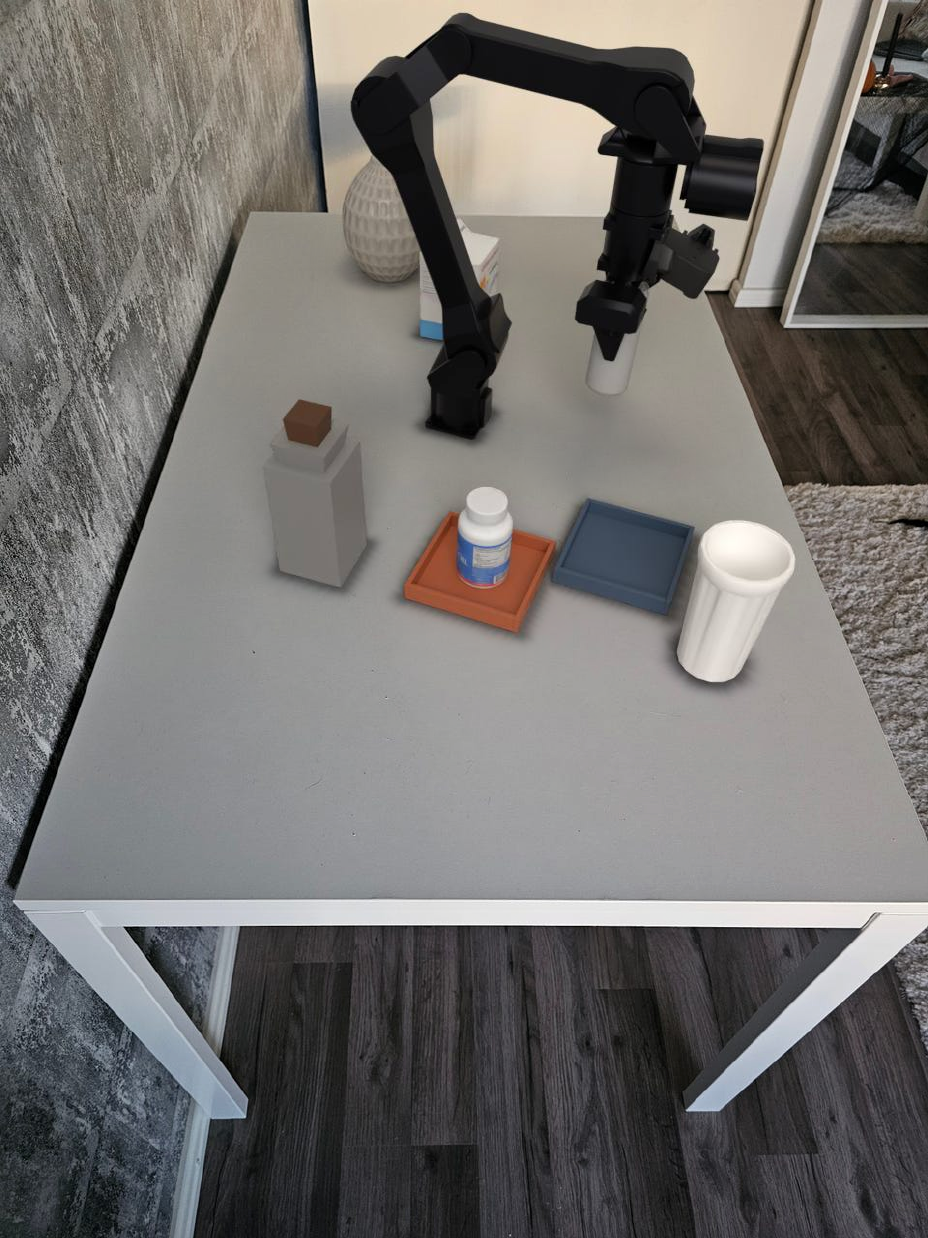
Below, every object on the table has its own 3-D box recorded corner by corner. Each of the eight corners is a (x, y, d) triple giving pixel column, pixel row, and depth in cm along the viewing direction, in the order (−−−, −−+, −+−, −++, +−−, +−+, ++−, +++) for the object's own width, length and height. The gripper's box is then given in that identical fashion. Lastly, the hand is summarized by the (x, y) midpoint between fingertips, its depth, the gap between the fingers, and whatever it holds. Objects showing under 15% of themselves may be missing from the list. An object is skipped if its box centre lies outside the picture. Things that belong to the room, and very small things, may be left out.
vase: (344, 253, 139) (337, 137, 127) (428, 251, 140) (428, 136, 128) (346, 295, 130) (338, 175, 118) (435, 293, 132) (437, 174, 119)
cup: (733, 706, 83) (778, 599, 72) (652, 668, 86) (684, 560, 75) (763, 649, 88) (809, 541, 77) (685, 615, 91) (720, 506, 80)
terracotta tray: (404, 597, 91) (404, 584, 90) (449, 523, 99) (449, 510, 97) (517, 633, 88) (518, 620, 87) (554, 554, 96) (556, 540, 94)
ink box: (477, 348, 122) (481, 252, 112) (418, 336, 124) (418, 240, 114) (496, 317, 128) (502, 223, 118) (440, 306, 129) (441, 212, 119)
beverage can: (626, 401, 101) (650, 296, 92) (582, 394, 101) (603, 289, 93) (627, 381, 104) (651, 277, 96) (586, 374, 104) (605, 271, 96)
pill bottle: (454, 554, 95) (456, 481, 88) (505, 552, 95) (511, 479, 88) (458, 592, 91) (461, 519, 84) (511, 590, 92) (518, 517, 84)
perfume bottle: (366, 544, 96) (357, 400, 83) (340, 587, 92) (325, 442, 78) (308, 529, 97) (290, 384, 84) (279, 570, 93) (255, 425, 80)
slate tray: (552, 581, 93) (554, 568, 92) (584, 510, 101) (587, 497, 99) (666, 615, 90) (670, 602, 89) (691, 539, 98) (695, 526, 97)
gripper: (706, 263, 80) (670, 411, 92) (738, 181, 92) (703, 322, 103) (584, 238, 82) (564, 386, 94) (631, 162, 94) (608, 302, 106)
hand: (615, 347), depth 99 cm, fingers closed on beverage can, 5 cm apart
